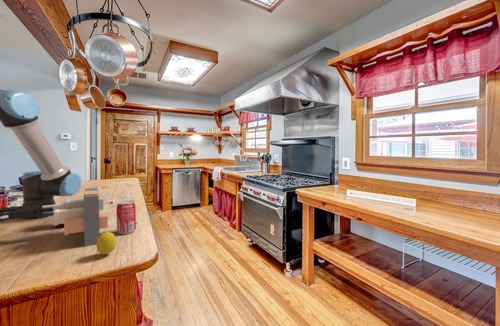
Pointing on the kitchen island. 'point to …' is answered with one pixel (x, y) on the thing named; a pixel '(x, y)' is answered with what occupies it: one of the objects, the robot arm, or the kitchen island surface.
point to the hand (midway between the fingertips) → (64, 207)
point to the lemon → (106, 243)
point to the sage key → (80, 204)
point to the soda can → (126, 217)
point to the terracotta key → (82, 224)
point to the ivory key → (67, 214)
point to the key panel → (91, 216)
